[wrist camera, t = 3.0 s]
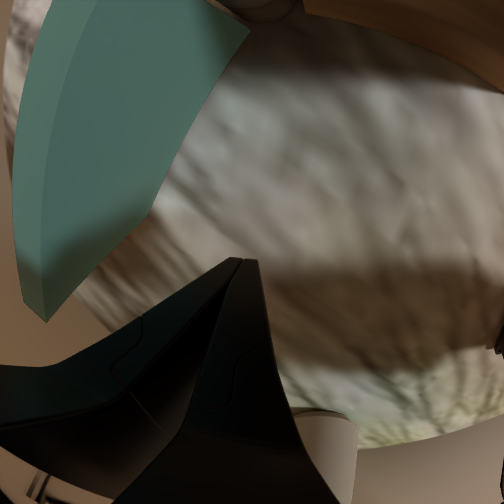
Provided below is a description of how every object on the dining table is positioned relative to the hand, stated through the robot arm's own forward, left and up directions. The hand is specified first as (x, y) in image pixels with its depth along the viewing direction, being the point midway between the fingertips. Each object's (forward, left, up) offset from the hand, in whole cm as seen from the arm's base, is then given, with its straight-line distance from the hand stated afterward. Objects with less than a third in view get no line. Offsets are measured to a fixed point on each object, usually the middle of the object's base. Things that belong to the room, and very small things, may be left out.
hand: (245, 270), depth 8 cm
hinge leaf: (+2, -6, -4) cm, 7 cm away
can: (+2, +22, -5) cm, 23 cm away
